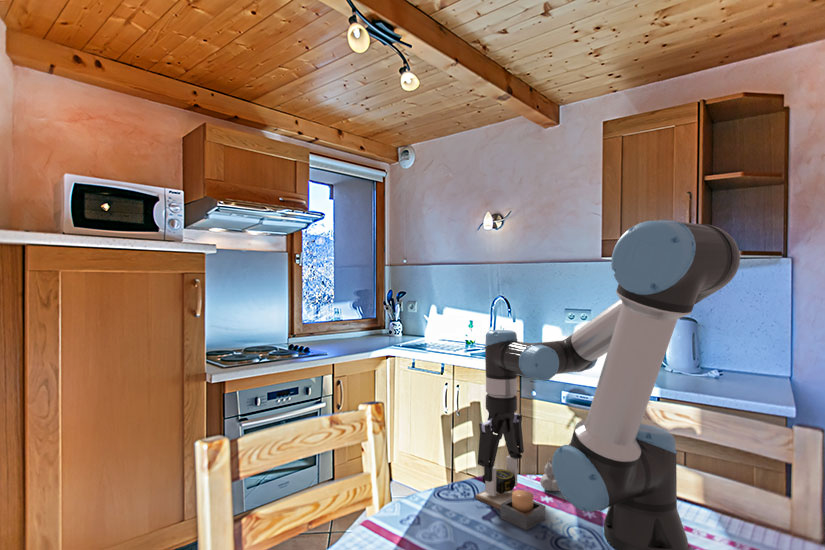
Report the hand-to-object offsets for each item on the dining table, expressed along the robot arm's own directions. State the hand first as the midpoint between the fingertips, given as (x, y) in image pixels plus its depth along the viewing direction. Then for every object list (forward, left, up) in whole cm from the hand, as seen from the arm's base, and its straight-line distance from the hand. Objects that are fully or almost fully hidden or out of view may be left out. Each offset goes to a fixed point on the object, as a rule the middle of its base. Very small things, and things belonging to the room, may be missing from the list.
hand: (501, 488), depth 112 cm
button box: (-9, +4, -2) cm, 10 cm away
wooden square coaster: (0, 0, -2) cm, 2 cm away
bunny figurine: (-6, -13, -3) cm, 14 cm away
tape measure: (0, 0, -1) cm, 1 cm away
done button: (-9, +4, 0) cm, 10 cm away
